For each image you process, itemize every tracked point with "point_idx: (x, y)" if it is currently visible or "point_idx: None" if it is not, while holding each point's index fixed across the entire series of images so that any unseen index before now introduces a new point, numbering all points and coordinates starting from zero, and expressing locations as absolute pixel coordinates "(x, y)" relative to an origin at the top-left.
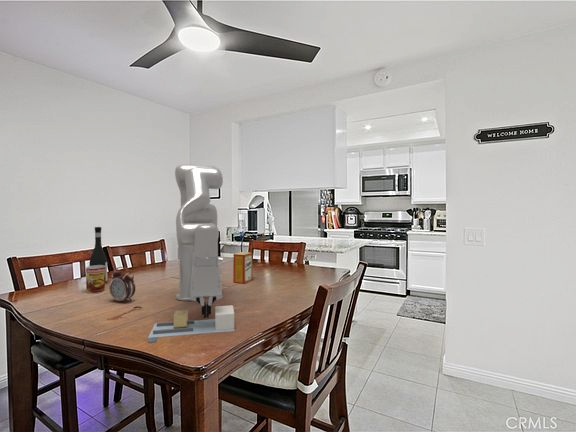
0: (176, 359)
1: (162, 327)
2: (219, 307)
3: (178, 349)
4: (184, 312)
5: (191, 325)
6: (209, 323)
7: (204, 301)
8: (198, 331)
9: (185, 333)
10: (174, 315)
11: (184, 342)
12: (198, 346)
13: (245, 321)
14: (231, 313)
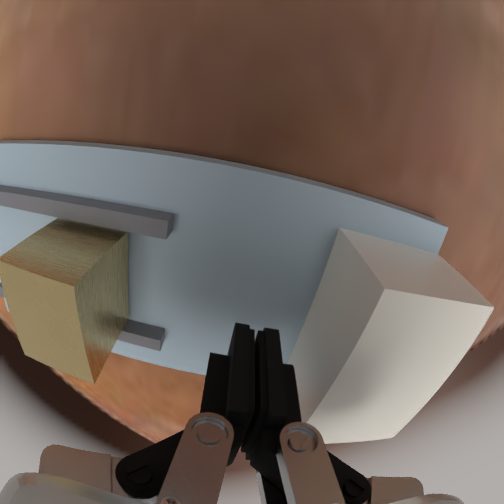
0: (136, 426)
1: (14, 220)
2: (399, 331)
3: (128, 392)
4: (62, 333)
5: (152, 255)
6: (282, 266)
7: (230, 448)
8: (194, 352)
9: (129, 347)
10: (26, 351)
11: (138, 362)
12: (194, 403)
13: (477, 242)
14: (384, 434)
